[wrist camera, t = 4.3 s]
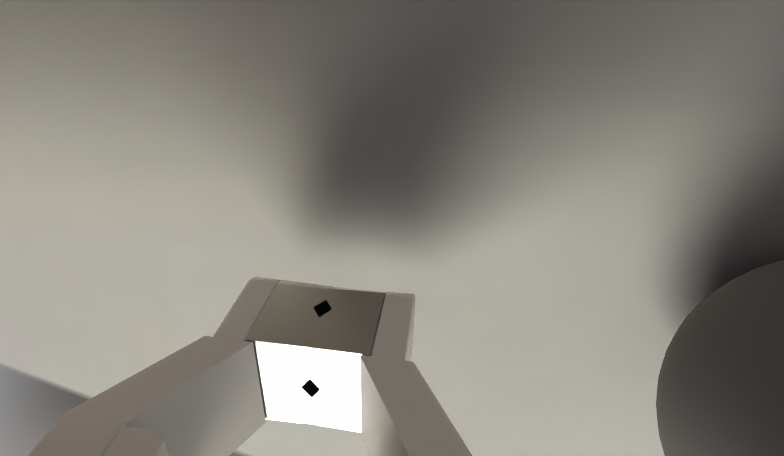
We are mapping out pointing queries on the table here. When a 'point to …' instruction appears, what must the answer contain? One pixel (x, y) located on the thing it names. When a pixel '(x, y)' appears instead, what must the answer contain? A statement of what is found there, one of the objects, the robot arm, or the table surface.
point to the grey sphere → (727, 372)
